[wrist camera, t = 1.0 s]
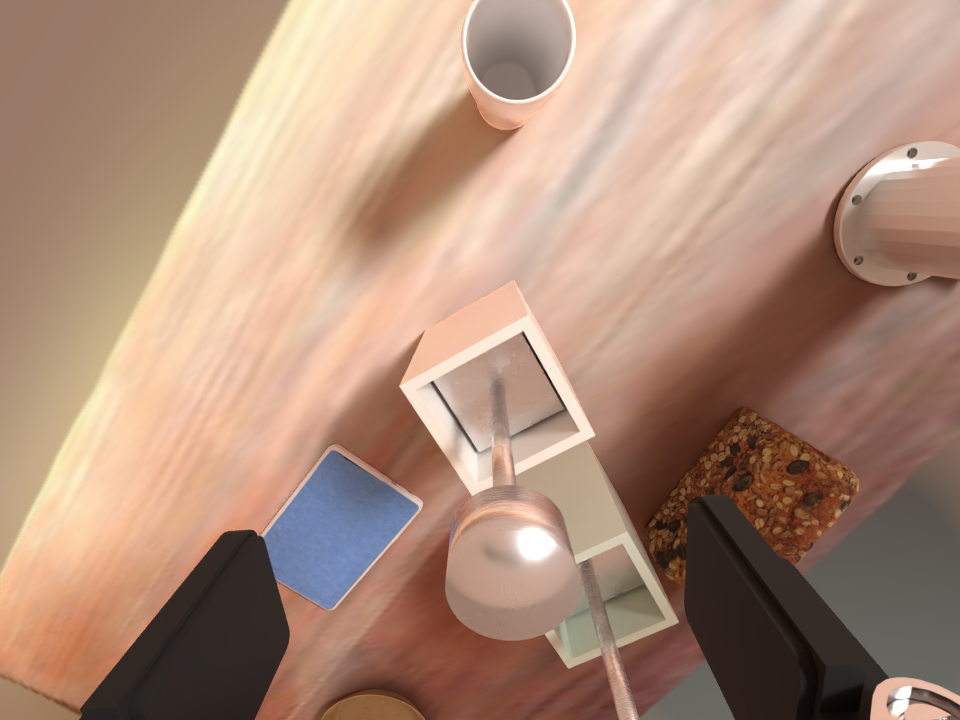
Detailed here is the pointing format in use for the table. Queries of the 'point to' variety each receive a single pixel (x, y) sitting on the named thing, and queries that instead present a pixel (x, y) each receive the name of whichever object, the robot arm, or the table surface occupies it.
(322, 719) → the plant saucer
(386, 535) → the tablet computer
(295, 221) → the table surface
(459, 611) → the plunger white
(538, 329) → the press white
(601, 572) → the silver rod piece
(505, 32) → the drinking glass
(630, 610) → the press sage
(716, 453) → the bread
